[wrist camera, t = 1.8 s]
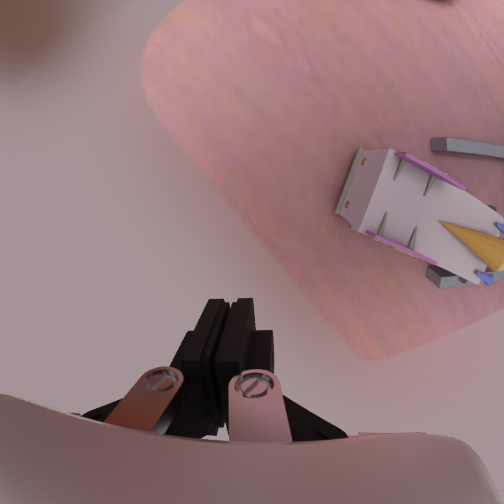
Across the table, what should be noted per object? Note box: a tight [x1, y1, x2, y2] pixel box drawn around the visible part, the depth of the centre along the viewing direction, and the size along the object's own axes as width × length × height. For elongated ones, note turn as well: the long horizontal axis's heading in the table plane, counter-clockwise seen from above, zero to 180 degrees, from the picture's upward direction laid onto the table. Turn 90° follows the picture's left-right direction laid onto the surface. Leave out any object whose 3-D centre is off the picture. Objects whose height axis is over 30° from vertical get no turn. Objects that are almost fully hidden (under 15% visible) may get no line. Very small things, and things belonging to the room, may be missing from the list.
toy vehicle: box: [334, 147, 504, 286], centre depth 26 cm, size 9×20×15 cm, turn 71°
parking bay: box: [427, 137, 504, 289], centre depth 28 cm, size 20×18×6 cm
